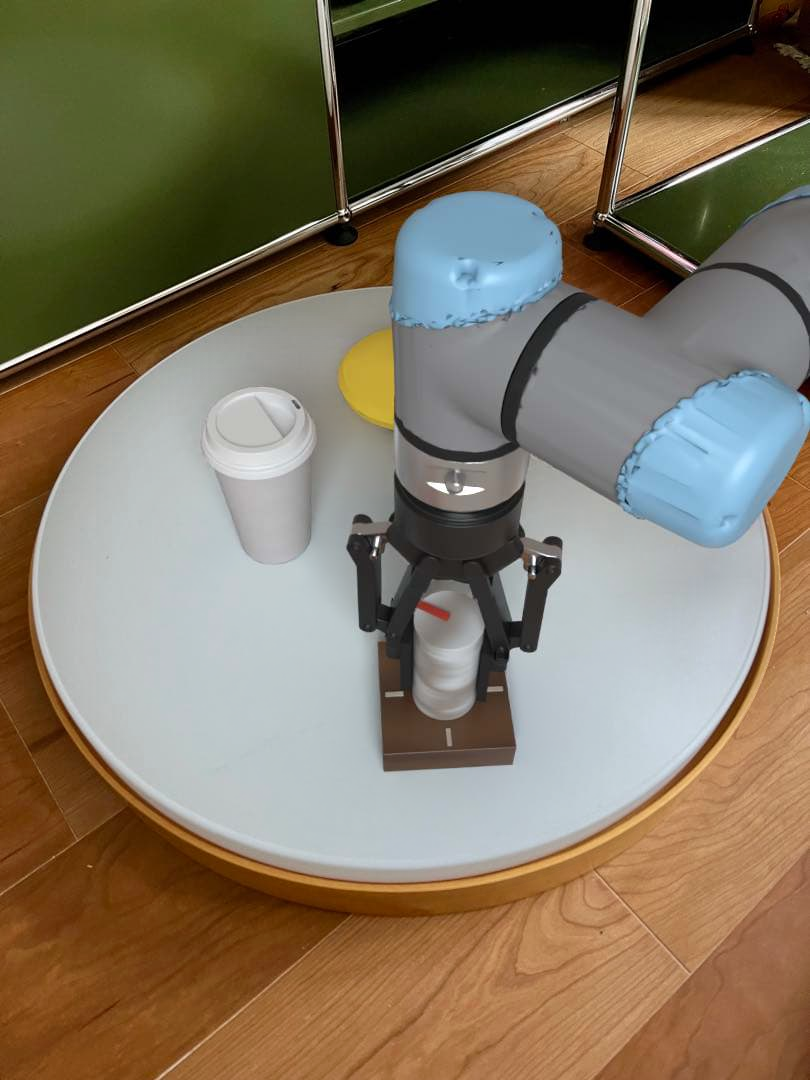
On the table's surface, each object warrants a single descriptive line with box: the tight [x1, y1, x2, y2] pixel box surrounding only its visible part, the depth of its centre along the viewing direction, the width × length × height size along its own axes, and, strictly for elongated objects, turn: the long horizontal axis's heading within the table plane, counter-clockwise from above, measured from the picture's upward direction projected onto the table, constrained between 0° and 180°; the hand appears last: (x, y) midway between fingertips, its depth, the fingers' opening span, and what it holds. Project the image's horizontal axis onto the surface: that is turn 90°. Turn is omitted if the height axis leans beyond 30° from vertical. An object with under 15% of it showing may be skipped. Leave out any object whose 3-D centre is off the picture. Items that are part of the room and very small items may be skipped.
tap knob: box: [412, 590, 485, 720], centre depth 66 cm, size 5×5×10 cm
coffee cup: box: [200, 386, 318, 565], centre depth 78 cm, size 10×10×15 cm
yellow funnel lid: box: [337, 327, 395, 431], centre depth 94 cm, size 16×16×7 cm
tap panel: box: [377, 640, 517, 773], centre depth 71 cm, size 10×10×3 cm
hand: (445, 680), depth 69 cm, fingers closed on tap knob, 5 cm apart
